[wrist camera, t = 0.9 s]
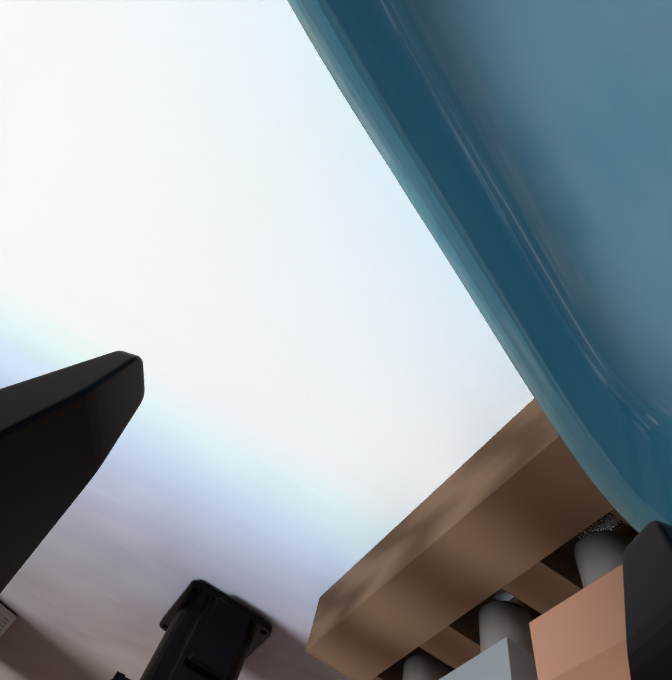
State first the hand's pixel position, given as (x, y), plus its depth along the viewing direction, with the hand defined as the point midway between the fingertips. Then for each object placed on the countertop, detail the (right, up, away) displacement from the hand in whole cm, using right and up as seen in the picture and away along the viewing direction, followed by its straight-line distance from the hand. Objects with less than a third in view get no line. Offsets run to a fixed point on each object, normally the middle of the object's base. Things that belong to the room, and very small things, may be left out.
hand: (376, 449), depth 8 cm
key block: (+8, -11, +19) cm, 23 cm away
